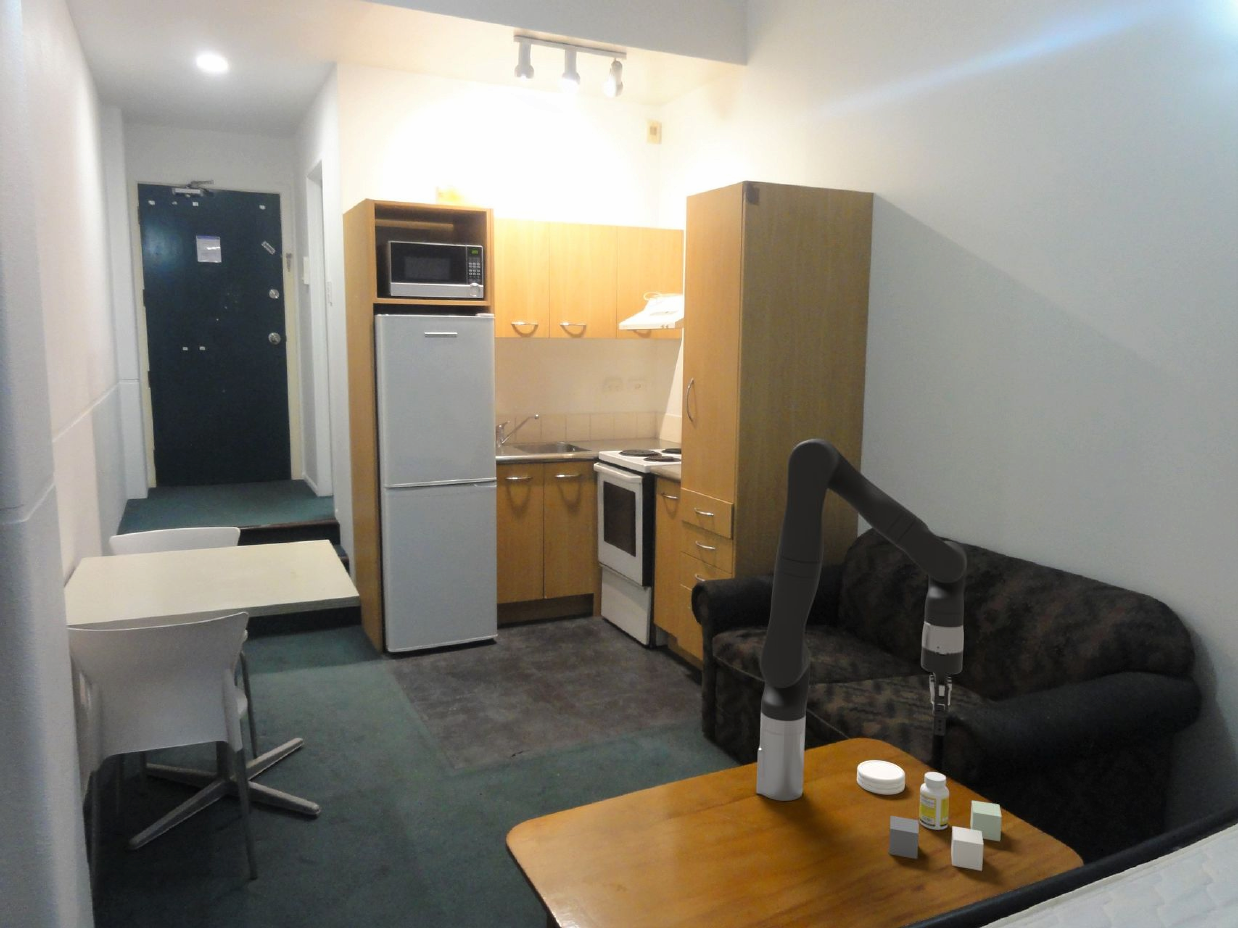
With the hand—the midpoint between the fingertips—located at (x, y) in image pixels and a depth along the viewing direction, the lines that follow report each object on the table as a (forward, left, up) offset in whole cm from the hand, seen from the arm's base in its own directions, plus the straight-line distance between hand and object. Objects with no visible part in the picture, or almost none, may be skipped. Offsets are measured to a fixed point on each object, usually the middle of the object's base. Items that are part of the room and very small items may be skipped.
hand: (938, 725), depth 171 cm
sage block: (+9, 0, -20) cm, 22 cm away
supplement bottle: (0, 0, -20) cm, 20 cm away
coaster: (-11, +14, -21) cm, 27 cm away
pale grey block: (+5, -12, -20) cm, 24 cm away
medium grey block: (-6, -12, -20) cm, 24 cm away
